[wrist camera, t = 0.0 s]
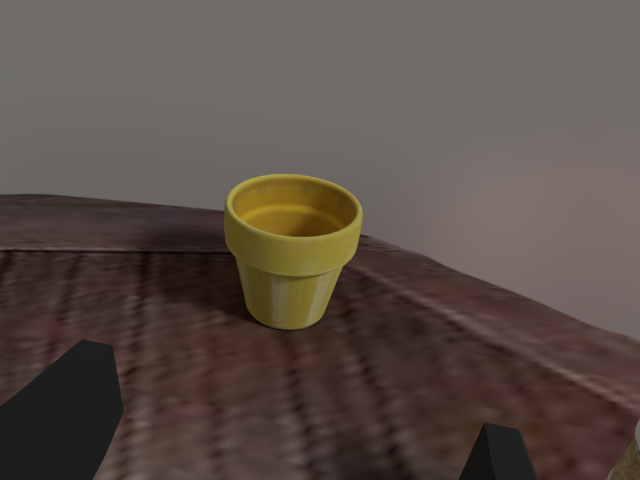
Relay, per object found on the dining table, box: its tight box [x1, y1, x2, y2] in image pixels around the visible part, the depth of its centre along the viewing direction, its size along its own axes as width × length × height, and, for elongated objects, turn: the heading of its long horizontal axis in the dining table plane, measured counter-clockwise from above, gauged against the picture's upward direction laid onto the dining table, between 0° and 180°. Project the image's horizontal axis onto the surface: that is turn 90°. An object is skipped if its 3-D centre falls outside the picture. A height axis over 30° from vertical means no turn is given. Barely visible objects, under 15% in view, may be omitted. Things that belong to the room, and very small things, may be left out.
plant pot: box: [224, 174, 362, 330], centre depth 46 cm, size 10×10×10 cm
